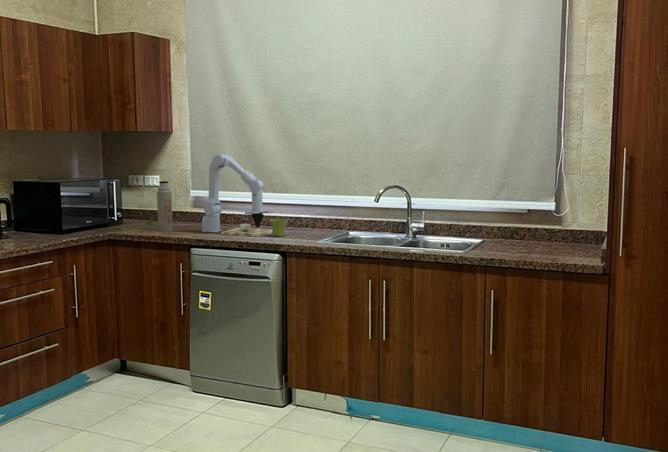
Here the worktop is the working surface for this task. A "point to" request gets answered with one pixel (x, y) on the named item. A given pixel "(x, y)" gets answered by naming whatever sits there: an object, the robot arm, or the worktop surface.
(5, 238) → the worktop surface
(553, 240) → the worktop surface
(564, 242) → the worktop surface
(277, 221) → the plant pot
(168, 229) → the thermos bottle
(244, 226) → the cream cap
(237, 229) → the birch board
